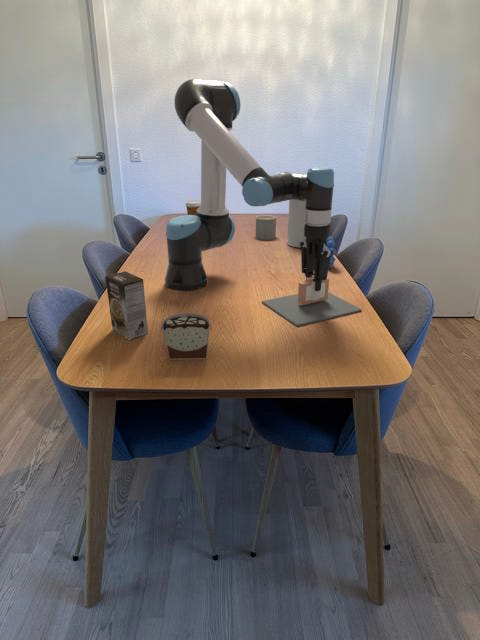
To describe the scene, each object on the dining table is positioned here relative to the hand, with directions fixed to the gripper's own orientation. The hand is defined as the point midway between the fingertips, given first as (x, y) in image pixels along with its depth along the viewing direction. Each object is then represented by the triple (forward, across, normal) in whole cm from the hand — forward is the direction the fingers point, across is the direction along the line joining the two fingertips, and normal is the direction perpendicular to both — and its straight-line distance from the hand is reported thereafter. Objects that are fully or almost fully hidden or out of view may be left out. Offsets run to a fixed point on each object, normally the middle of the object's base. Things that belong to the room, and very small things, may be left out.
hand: (312, 298), depth 137 cm
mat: (+2, -1, +1) cm, 3 cm away
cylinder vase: (+2, +62, -39) cm, 73 cm away
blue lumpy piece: (+3, +30, -29) cm, 42 cm away
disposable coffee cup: (+2, +127, -12) cm, 128 cm away
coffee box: (+2, +8, +56) cm, 57 cm away
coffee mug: (+2, +83, -32) cm, 89 cm away
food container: (+3, -11, +46) cm, 47 cm away
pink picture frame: (+1, 0, 0) cm, 1 cm away
